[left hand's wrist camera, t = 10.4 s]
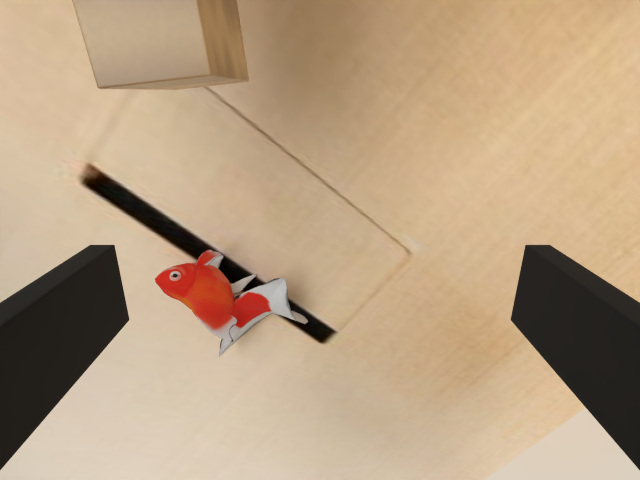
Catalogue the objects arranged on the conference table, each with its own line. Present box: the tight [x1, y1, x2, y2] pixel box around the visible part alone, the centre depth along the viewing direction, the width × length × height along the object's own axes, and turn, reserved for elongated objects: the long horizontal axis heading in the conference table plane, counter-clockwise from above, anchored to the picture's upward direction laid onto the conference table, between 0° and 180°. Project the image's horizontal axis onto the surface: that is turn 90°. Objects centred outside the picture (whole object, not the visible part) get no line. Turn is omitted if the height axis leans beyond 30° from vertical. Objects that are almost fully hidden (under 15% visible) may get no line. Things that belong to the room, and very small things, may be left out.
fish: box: [155, 250, 308, 356], centre depth 39 cm, size 11×16×10 cm
